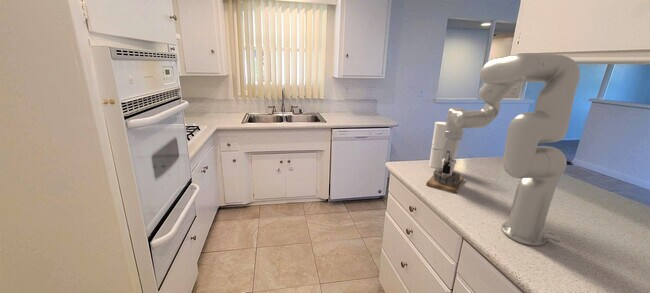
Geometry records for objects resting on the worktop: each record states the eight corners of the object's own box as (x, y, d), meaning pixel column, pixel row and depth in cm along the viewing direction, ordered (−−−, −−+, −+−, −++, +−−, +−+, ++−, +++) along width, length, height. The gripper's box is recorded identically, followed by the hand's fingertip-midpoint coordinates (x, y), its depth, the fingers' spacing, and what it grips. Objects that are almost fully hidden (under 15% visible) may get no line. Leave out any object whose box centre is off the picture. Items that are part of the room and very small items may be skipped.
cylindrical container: (440, 164, 158) (446, 121, 150) (444, 169, 151) (451, 124, 143) (427, 163, 158) (433, 121, 151) (430, 168, 151) (437, 124, 144)
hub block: (463, 180, 137) (465, 170, 135) (455, 193, 123) (457, 182, 121) (436, 173, 144) (438, 164, 143) (426, 185, 130) (427, 175, 129)
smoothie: (444, 175, 137) (448, 148, 133) (456, 179, 132) (461, 152, 128) (436, 177, 134) (440, 150, 129) (448, 182, 128) (452, 154, 124)
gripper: (449, 130, 135) (444, 164, 140) (439, 137, 122) (434, 174, 127) (465, 132, 131) (459, 167, 136) (458, 140, 117) (451, 178, 123)
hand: (447, 170), depth 131 cm, fingers closed on smoothie, 6 cm apart
